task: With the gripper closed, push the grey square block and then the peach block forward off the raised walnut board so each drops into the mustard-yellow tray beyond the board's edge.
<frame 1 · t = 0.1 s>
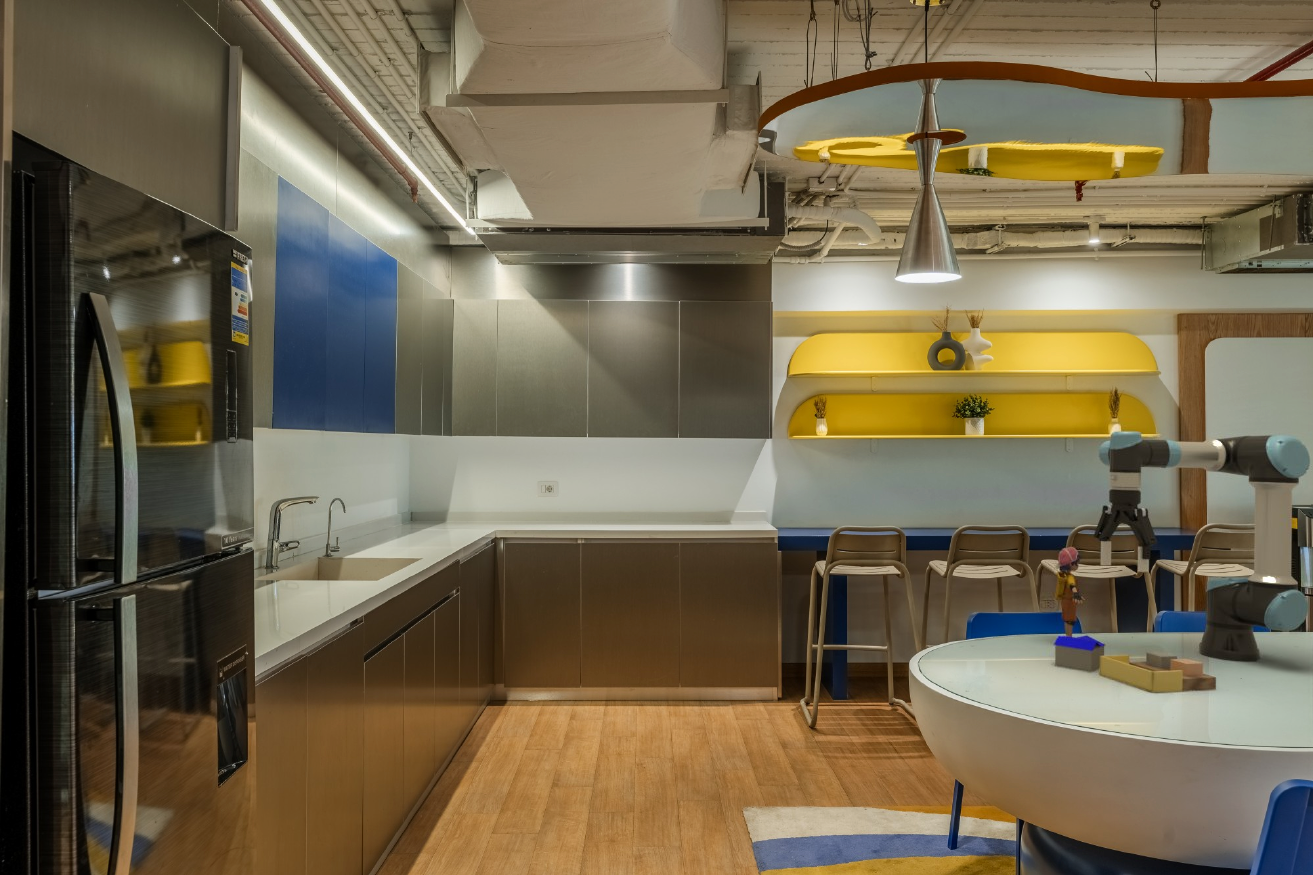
hand: (1123, 568, 241), 28 cm above the table, tool pointing down, fingers open, 13 cm apart
toy: (1067, 644, 277), on the table
yellow tray: (1139, 682, 230), on the table
walnut board: (1170, 681, 232), on the table
grey square block: (1161, 665, 236), point 3 cm above the table, touching walnut board
house: (1079, 667, 248), on the table
peach block: (1186, 673, 229), point 3 cm above the table, touching walnut board
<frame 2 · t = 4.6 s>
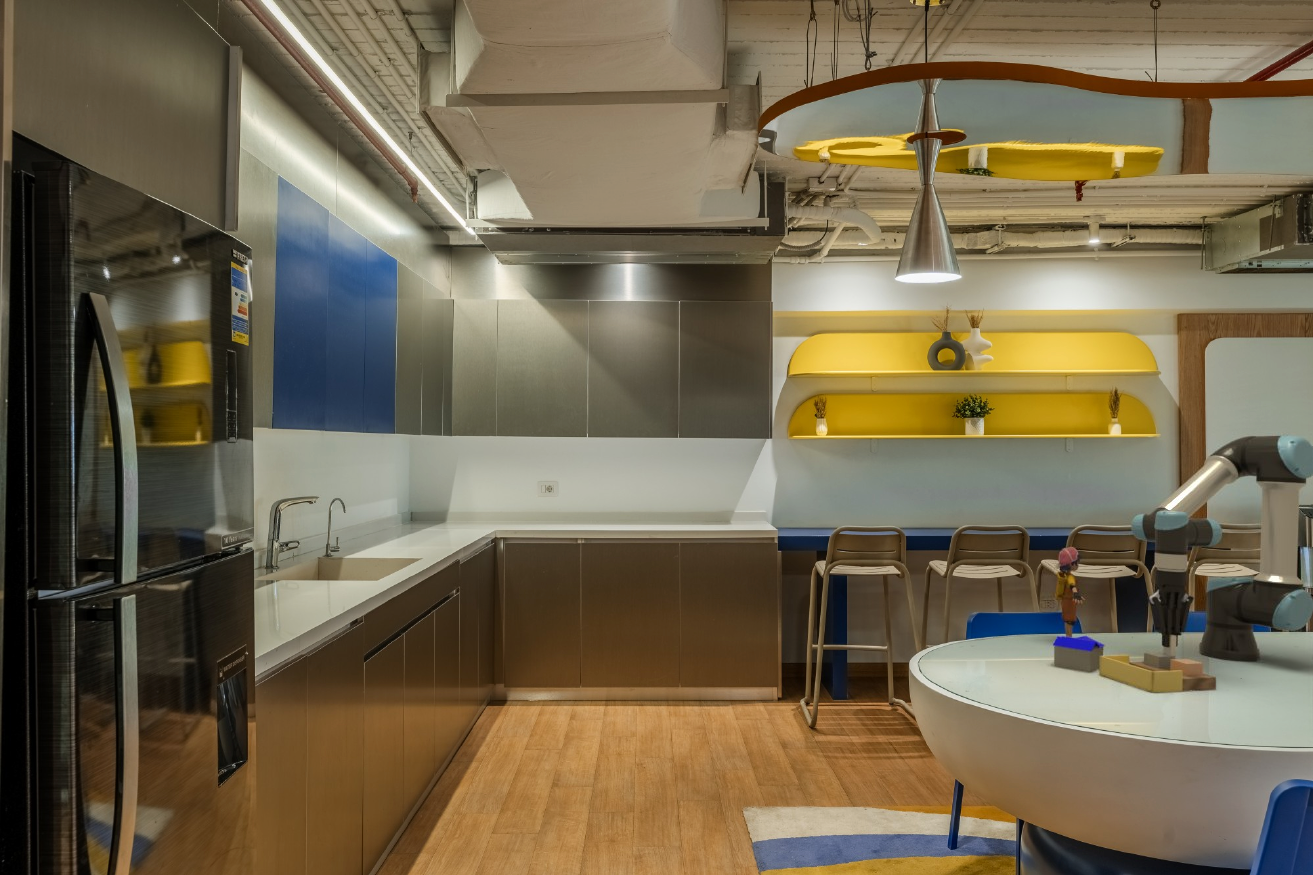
hand: (1169, 659, 237), 5 cm above the table, tool pointing down, fingers closed
grey square block: (1159, 665, 236), point 3 cm above the table, touching gripper
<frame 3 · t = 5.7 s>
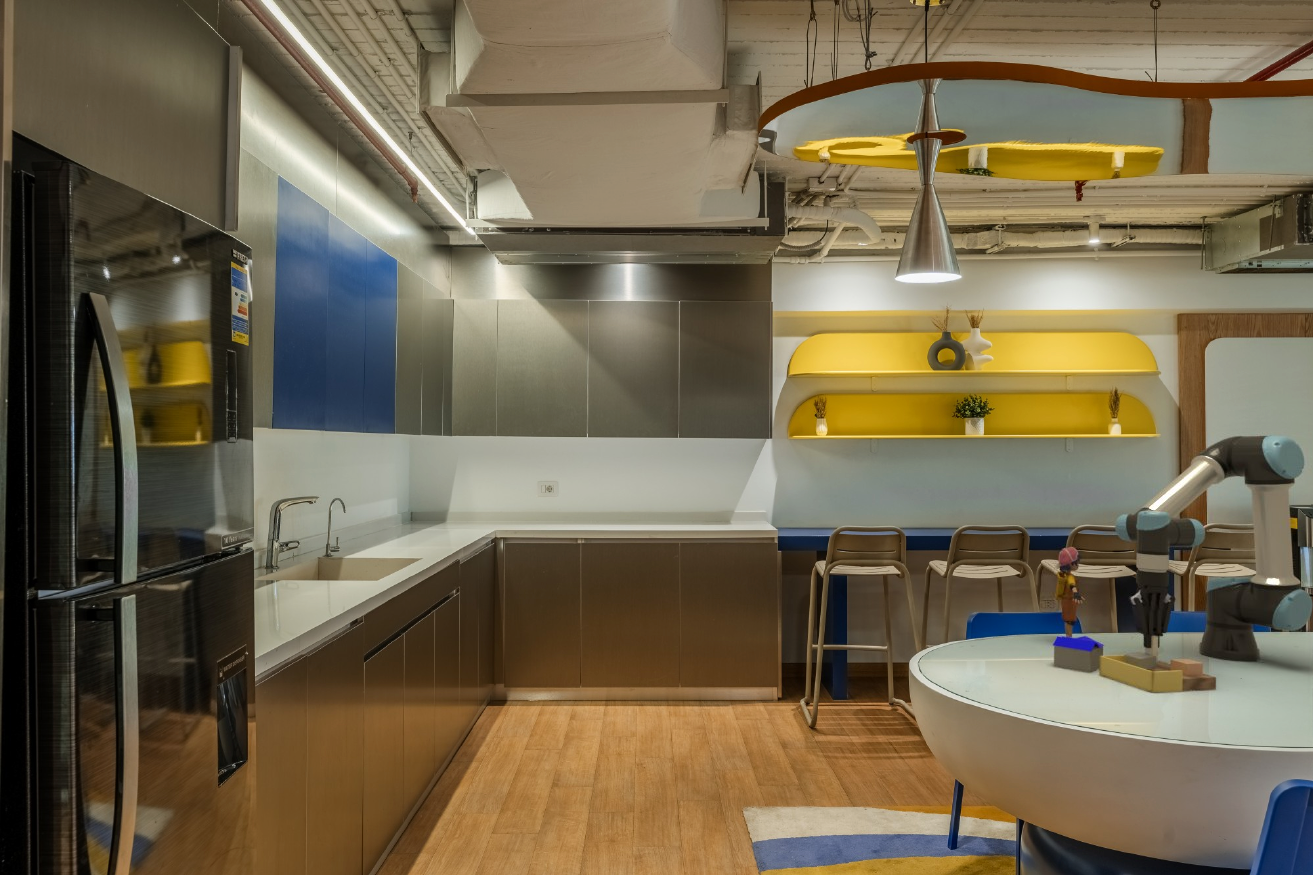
hand: (1151, 660, 236), 5 cm above the table, tool pointing down, fingers closed
grey square block: (1141, 666, 235), point 3 cm above the table, tilted 7°, touching gripper
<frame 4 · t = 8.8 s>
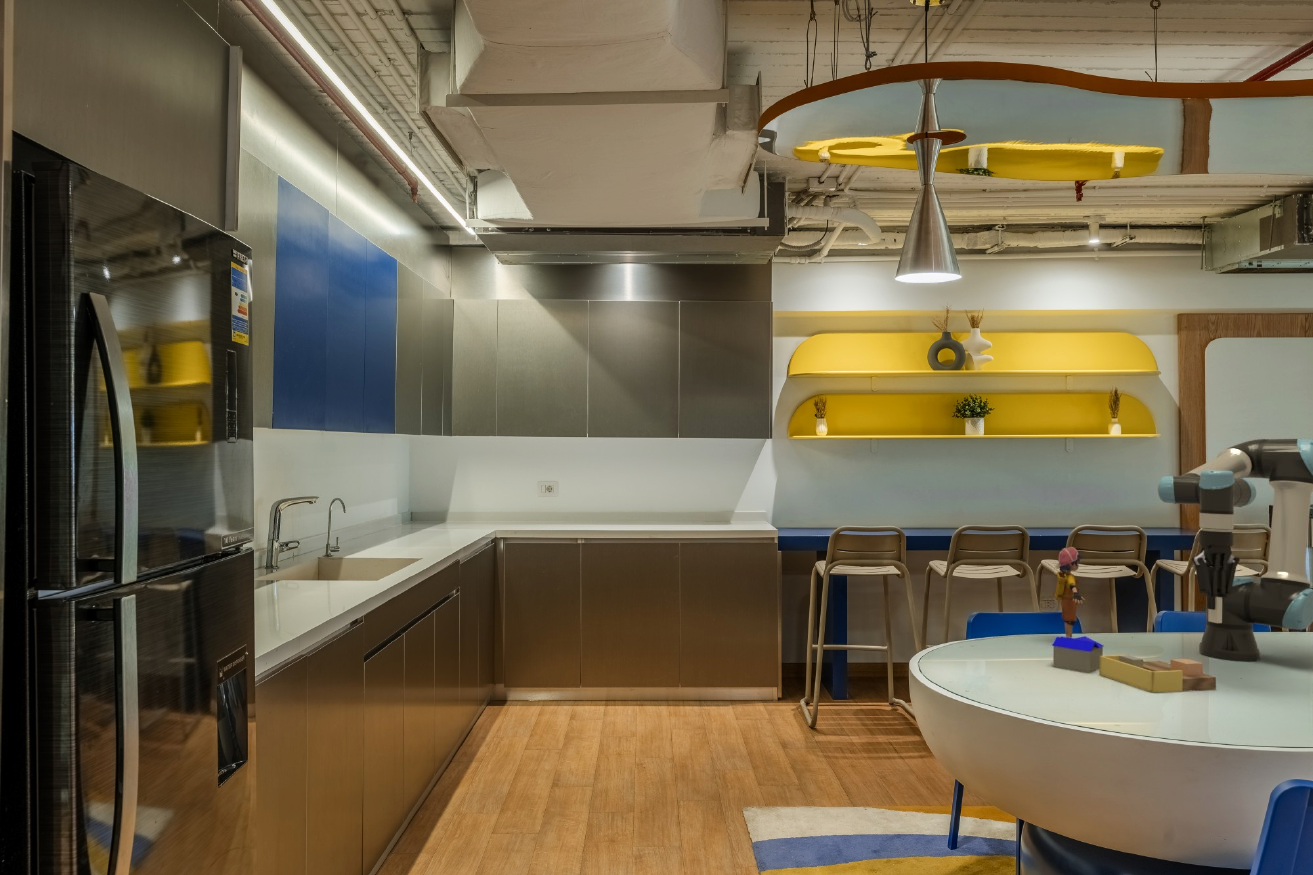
hand: (1215, 622, 231), 16 cm above the table, tool pointing down, fingers closed
grey square block: (1135, 666, 234), point 3 cm above the table, tilted 90°, touching yellow tray
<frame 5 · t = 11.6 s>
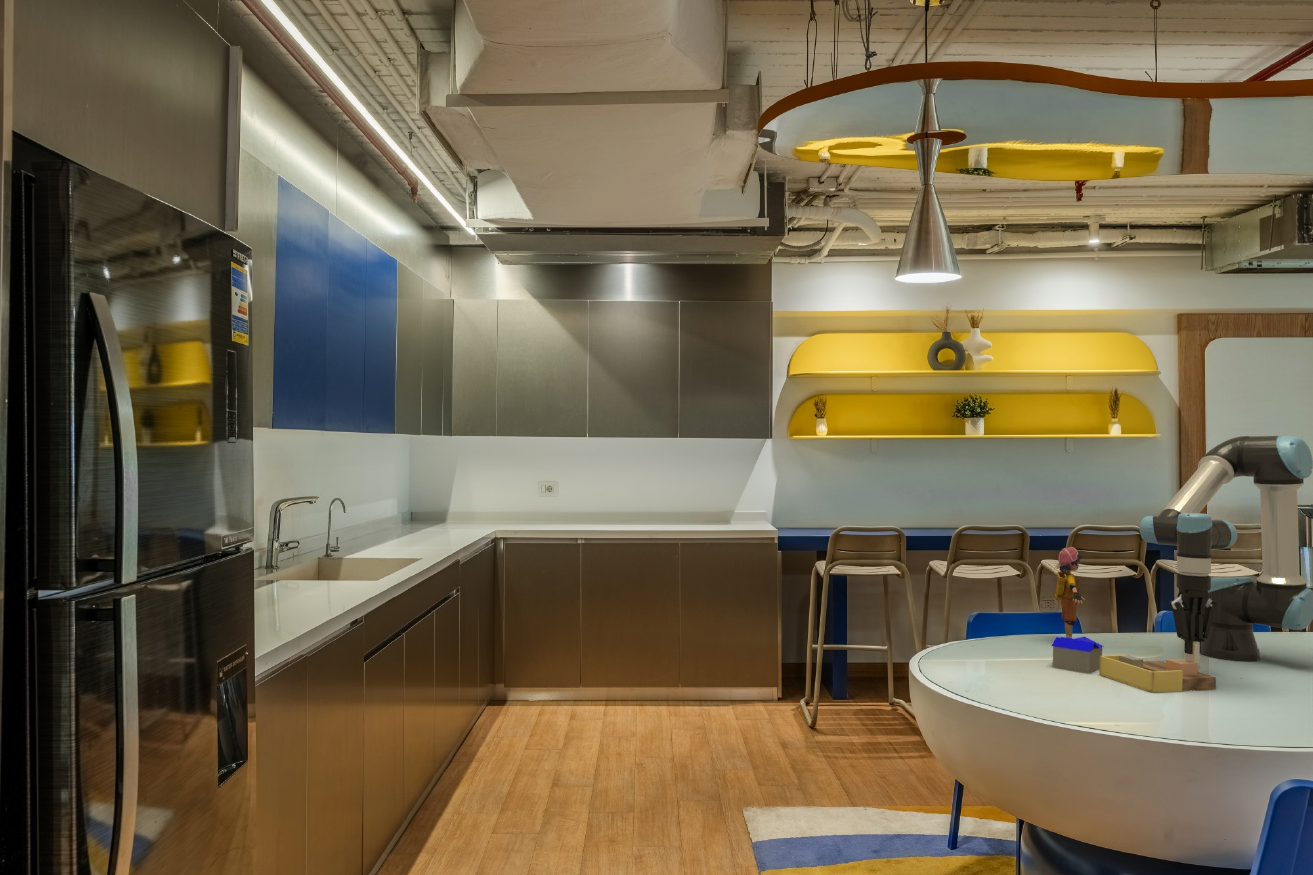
hand: (1192, 666, 229), 5 cm above the table, tool pointing down, fingers closed
peach block: (1181, 673, 228), point 3 cm above the table
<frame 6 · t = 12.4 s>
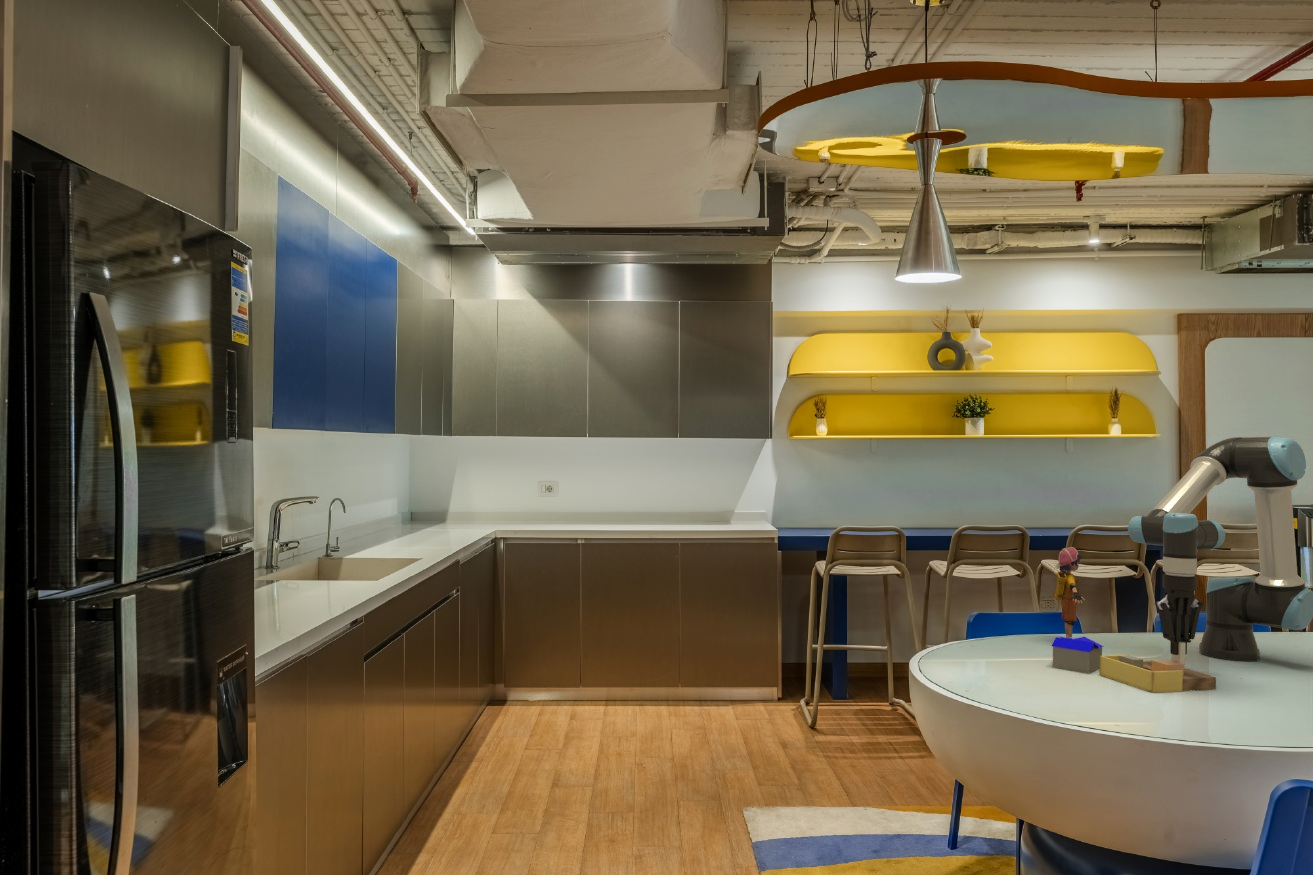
hand: (1178, 667, 228), 5 cm above the table, tool pointing down, fingers closed
peach block: (1167, 673, 227), point 3 cm above the table, touching gripper
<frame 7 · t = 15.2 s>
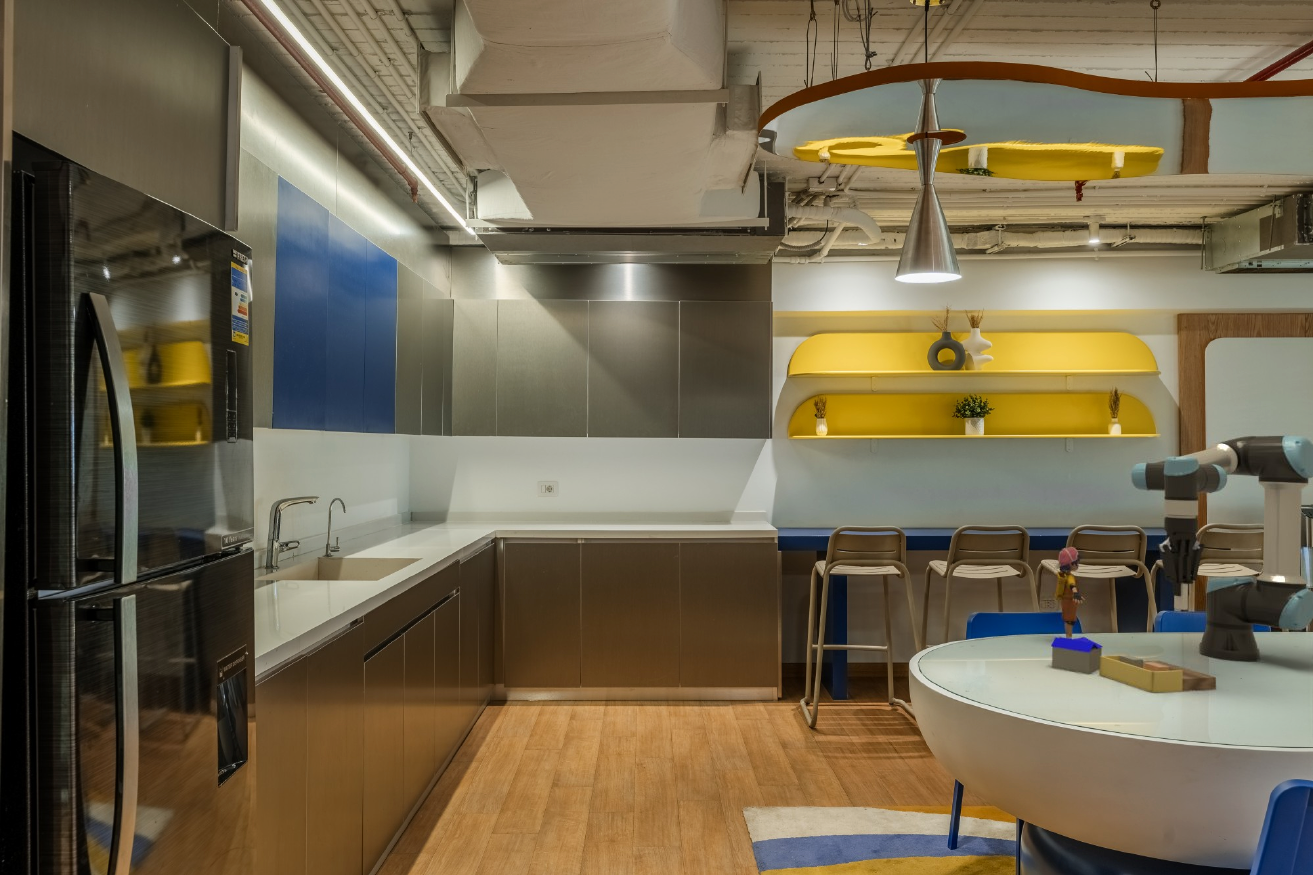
hand: (1181, 608, 231), 19 cm above the table, tool pointing down, fingers closed
peach block: (1160, 674, 227), point 3 cm above the table, tilted 90°, touching yellow tray
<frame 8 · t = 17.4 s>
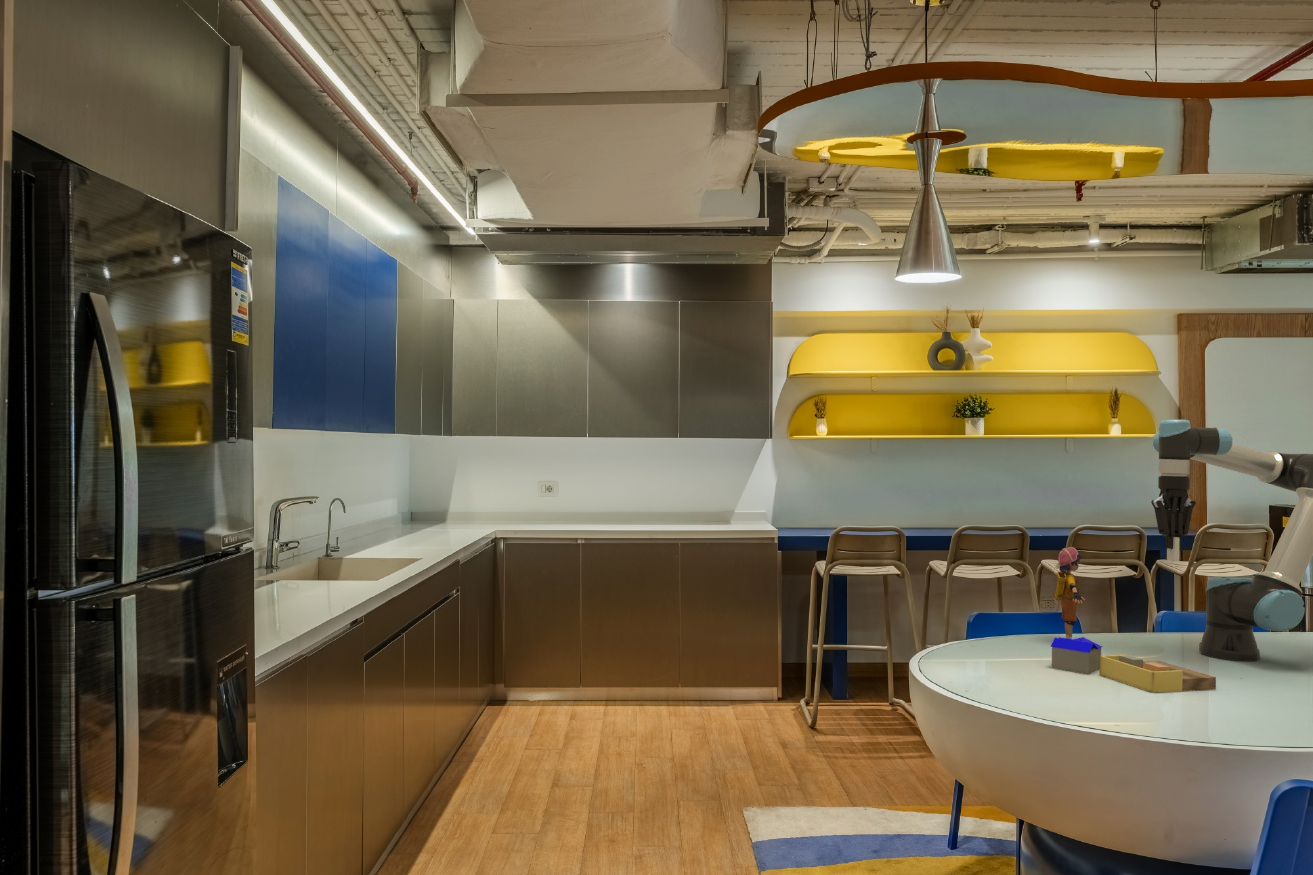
hand: (1173, 560, 249), 29 cm above the table, tool pointing down, fingers closed
at the end: grey square block inside the target area (5.2 cm from its centre), point 3.0 cm above the table; peach block inside the target area (5.3 cm from its centre), point 3.0 cm above the table; grey square block touching yellow tray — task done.
